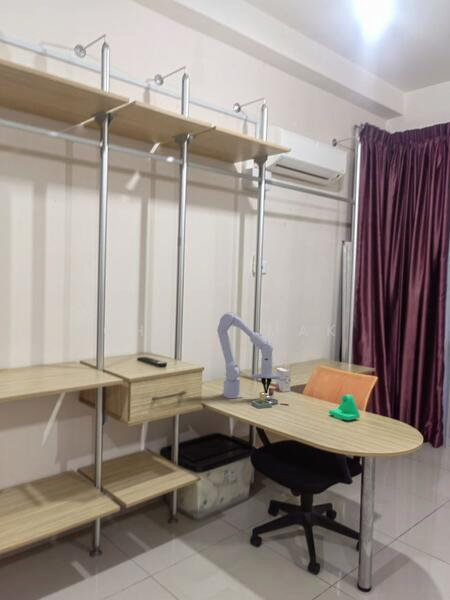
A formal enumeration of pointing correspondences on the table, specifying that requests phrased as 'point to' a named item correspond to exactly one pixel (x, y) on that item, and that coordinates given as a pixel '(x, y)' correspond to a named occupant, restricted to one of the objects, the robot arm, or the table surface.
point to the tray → (256, 404)
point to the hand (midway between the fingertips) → (266, 392)
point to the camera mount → (346, 409)
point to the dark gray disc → (272, 401)
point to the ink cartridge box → (284, 378)
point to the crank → (271, 394)
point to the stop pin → (262, 398)
